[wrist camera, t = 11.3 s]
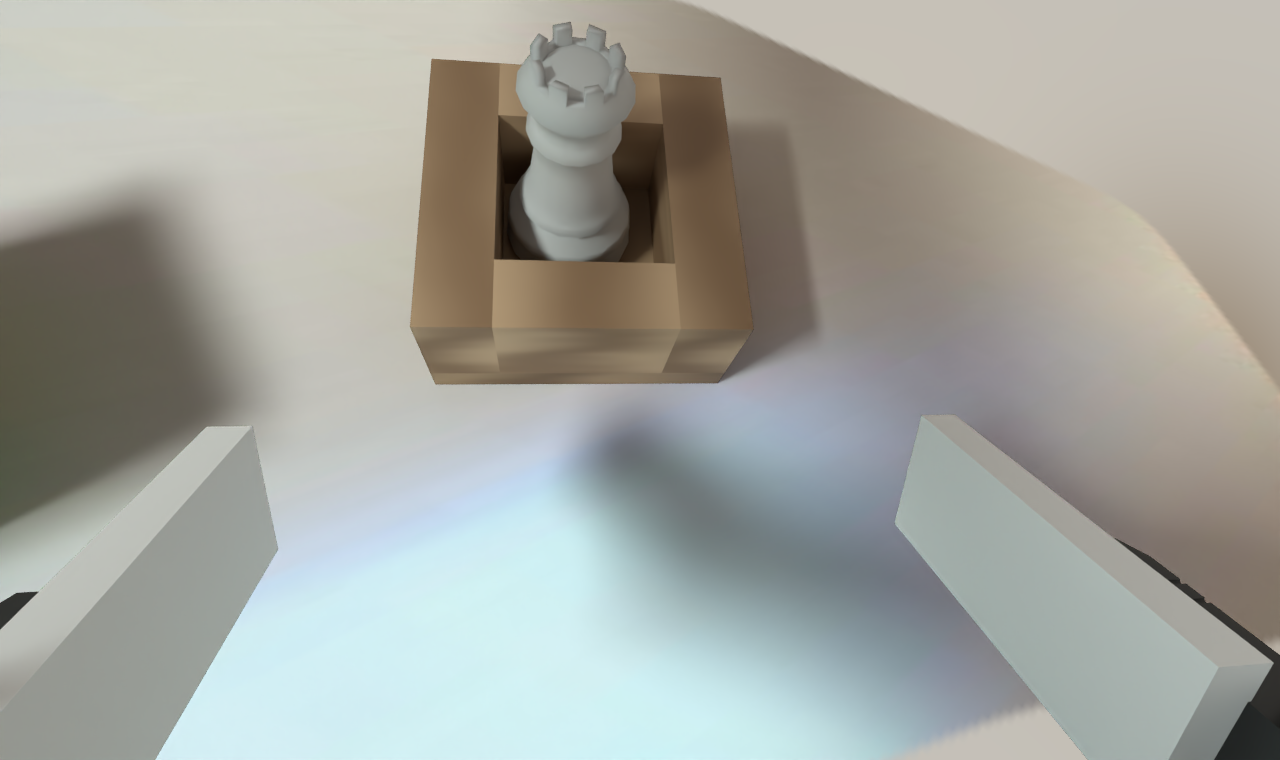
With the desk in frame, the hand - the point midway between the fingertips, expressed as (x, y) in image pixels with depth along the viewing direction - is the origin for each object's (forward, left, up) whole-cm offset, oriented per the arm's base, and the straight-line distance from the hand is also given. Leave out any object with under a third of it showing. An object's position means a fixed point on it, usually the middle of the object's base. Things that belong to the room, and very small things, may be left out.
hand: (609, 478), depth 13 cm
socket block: (0, +10, -9) cm, 14 cm away
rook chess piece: (0, +11, -8) cm, 13 cm away
